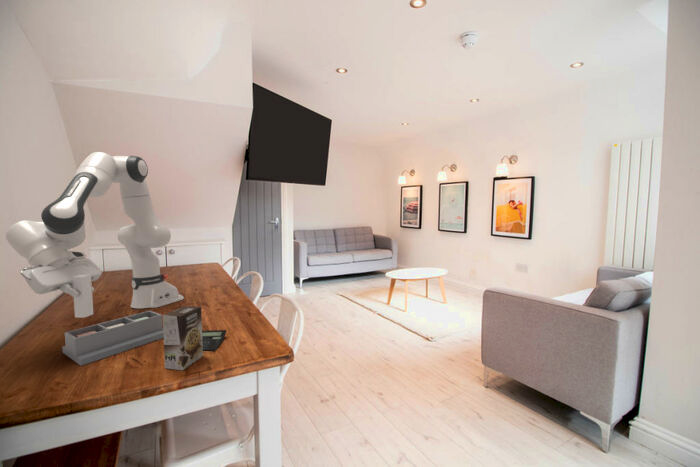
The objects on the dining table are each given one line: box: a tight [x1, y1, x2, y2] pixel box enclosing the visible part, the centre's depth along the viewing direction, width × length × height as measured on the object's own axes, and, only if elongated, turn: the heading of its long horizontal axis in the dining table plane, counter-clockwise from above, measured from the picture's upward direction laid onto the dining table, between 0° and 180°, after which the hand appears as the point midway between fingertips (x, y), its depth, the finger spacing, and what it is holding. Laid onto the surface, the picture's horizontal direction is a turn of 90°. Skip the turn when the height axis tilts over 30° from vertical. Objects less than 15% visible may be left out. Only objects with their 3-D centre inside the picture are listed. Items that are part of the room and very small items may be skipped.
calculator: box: [202, 329, 227, 352], centre depth 107 cm, size 9×12×3 cm
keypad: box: [61, 310, 164, 367], centre depth 107 cm, size 25×16×8 cm, turn 147°
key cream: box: [106, 323, 125, 329], centre depth 107 cm, size 5×5×2 cm
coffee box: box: [162, 305, 204, 371], centre depth 94 cm, size 9×6×16 cm
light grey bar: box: [72, 275, 94, 319], centre depth 99 cm, size 3×3×13 cm
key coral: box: [76, 331, 95, 338], centre depth 100 cm, size 5×5×2 cm
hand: (84, 293), depth 99 cm, fingers closed on light grey bar, 3 cm apart
